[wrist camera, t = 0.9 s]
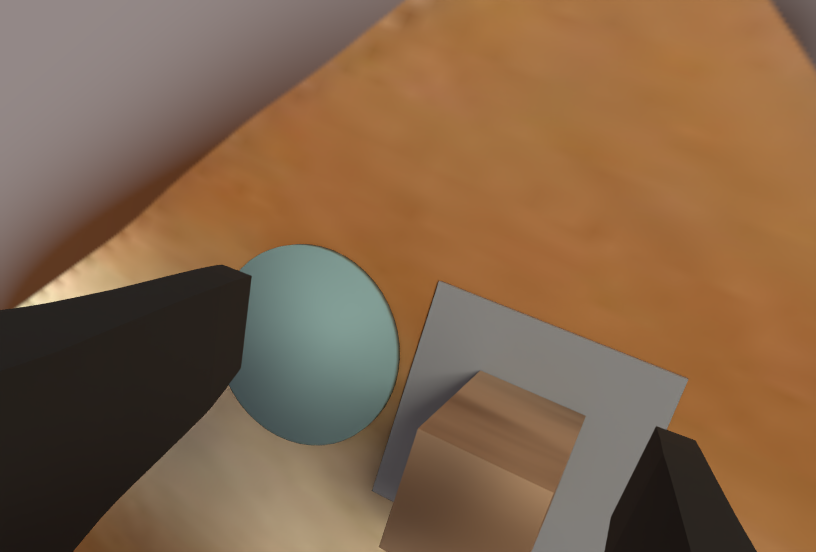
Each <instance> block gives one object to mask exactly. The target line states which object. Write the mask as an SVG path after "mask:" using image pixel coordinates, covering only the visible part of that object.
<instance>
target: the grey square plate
mask: <svg viewBox="0 0 816 552" xmlns="http://www.w3.org/2000/svg"><path fill="white" fill-rule="evenodd" d="M480 370H481V371H483V372H485V373H488V374H490V375H492V376H495V377H497V378H499V379H501V380H504V381H506V382H508V383H511V384H513V385H515V386H518V387H520V388H522V389H525V390H527V391H529V392H532V393H534V394H536V395H539V396H541V397H543V398H546V399H548V400H550V401H552V402H555V403H557V404H559V405H562V406H564V407H566V408H569V409H571V410H573V411H576V412H578V413H580V414H583V415H585V416H586V417H585V420H584V422H583V425H582V427H581V430H580V432H579V435H578V437H577V440H576V442H575V445H574V447H573V450H572V453H571V455H570V458H569V460H568V463H567V465H566V468H565V470H564V473H563V475H562V478H561V480H560V483H559V485H558V488H557V490H556V493H555V495H554V498H553V500H552V503H551V505H550V508H549V510H548V513H547V515H546V518H545V520H544V523H543V525H542V527H541V530H540V532H539V535H538V537H537V540H536V542H535V544H534V547H533V549H532V552H605V546H606V540H607V535H608V530H609V524H610V519H611V516H612V514H613V512H614V510H615V508H616V506H617V504H618V502H619V500H620V498H621V496H622V494H623V492H624V490H625V488H626V486H627V484H628V482H629V480H630V478H631V476H632V474H633V471H634V469H635V467H636V465H637V463H638V461H639V459H640V457H641V455H642V453H643V451H644V449H645V447H646V445H647V443H648V441H649V439H650V437H651V435H652V433H653V431H654V429H655V427H656V426H658V427H660V428H663V429H666V430H667V427H668V425H669V423H670V421H671V418H672V416H673V414H674V411H675V409H676V407H677V404H678V402H679V400H680V397H681V395H682V393H683V390H684V388H685V386H686V384H687V381H688V378H686V377H683V376H681V375H678V374H676V373H673V372H671V371H668V370H666V369H663V368H661V367H658V366H656V365H653V364H650V363H648V362H645V361H643V360H640V359H638V358H635V357H633V356H630V355H628V354H625V353H623V352H620V351H618V350H615V349H612V348H610V347H607V346H605V345H602V344H600V343H597V342H595V341H592V340H590V339H587V338H585V337H582V336H580V335H577V334H574V333H572V332H569V331H567V330H564V329H562V328H559V327H557V326H554V325H552V324H549V323H547V322H544V321H542V320H539V319H536V318H534V317H531V316H529V315H526V314H524V313H521V312H519V311H516V310H514V309H511V308H509V307H506V306H504V305H501V304H498V303H496V302H493V301H491V300H488V299H486V298H483V297H481V296H478V295H476V294H473V293H471V292H468V291H466V290H463V289H460V288H458V287H455V286H453V285H450V284H448V283H445V282H443V281H439V283H438V286H437V289H436V292H435V295H434V298H433V302H432V305H431V308H430V311H429V314H428V317H427V320H426V323H425V327H424V330H423V333H422V336H421V339H420V342H419V345H418V349H417V352H416V355H415V358H414V361H413V364H412V367H411V370H410V374H409V377H408V380H407V383H406V386H405V389H404V392H403V395H402V399H401V402H400V405H399V408H398V411H397V414H396V417H395V421H394V424H393V427H392V430H391V433H390V436H389V439H388V442H387V446H386V449H385V452H384V455H383V458H382V461H381V464H380V467H379V471H378V474H377V477H376V480H375V483H374V486H373V489H372V491H373V492H375V493H377V494H379V495H381V496H383V497H385V498H387V499H389V500H391V501H393V502H394V500H395V497H396V494H397V491H398V488H399V485H400V482H401V479H402V475H403V472H404V469H405V466H406V463H407V460H408V457H409V454H410V451H411V448H412V445H413V442H414V439H415V436H416V433H417V430H418V428H419V427H420V426H421V425H422V424H423V423H424V422H426V421H427V420H428V419H429V418H430V417H431V416H432V415H433V414H434V413H435V412H436V411H437V410H438V409H440V408H441V407H442V406H443V405H444V404H445V403H446V402H447V401H448V400H449V399H450V398H451V397H452V396H454V395H455V394H456V393H457V392H458V391H459V390H460V389H461V388H462V387H463V386H464V385H465V384H466V383H468V382H469V381H470V380H471V379H472V378H473V377H474V376H475V375H476V374H477V373H478V372H479V371H480Z"/></svg>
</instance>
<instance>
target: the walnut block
mask: <svg viewBox="0 0 816 552" xmlns="http://www.w3.org/2000/svg"><path fill="white" fill-rule="evenodd" d="M585 417H586V416H585V415H583V414H580V413H578V412H576V411H573V410H571V409H569V408H566V407H564V406H562V405H559V404H557V403H555V402H552V401H550V400H548V399H546V398H543V397H541V396H539V395H536V394H534V393H532V392H529V391H527V390H525V389H522V388H520V387H518V386H515V385H513V384H511V383H508V382H506V381H504V380H501V379H499V378H497V377H495V376H492V375H490V374H488V373H485V372H483V371H481V370H480V371H479V372H478V373H477V374H476V375H475V376H474V377H473V378H472V379H471V380H470V381H469V382H468V383H466V384H465V385H464V386H463V387H462V388H461V389H460V390H459V391H458V392H457V393H456V394H455V395H454V396H452V397H451V398H450V399H449V400H448V401H447V402H446V403H445V404H444V405H443V406H442V407H441V408H440V409H438V410H437V411H436V412H435V413H434V414H433V415H432V416H431V417H430V418H429V419H428V420H427V421H426V422H424V423H423V424H422V425H421V426H420V427H419V428H418V430H417V433H416V436H415V439H414V442H413V445H412V448H411V451H410V454H409V457H408V460H407V463H406V466H405V469H404V472H403V475H402V479H401V482H400V485H399V488H398V491H397V494H396V497H395V500H394V503H393V506H392V509H391V512H390V515H389V518H388V521H387V524H386V527H385V530H384V533H383V536H382V539H381V542H380V545H379V547H380V548H381V549H383V550H385V551H387V552H532V549H533V547H534V544H535V542H536V540H537V537H538V535H539V532H540V530H541V527H542V525H543V523H544V520H545V518H546V515H547V513H548V510H549V508H550V505H551V503H552V500H553V498H554V495H555V493H556V490H557V488H558V485H559V483H560V480H561V478H562V475H563V473H564V470H565V468H566V465H567V463H568V460H569V458H570V455H571V453H572V450H573V447H574V445H575V442H576V440H577V437H578V435H579V432H580V430H581V427H582V425H583V422H584V420H585Z"/></svg>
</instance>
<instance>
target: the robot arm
mask: <svg viewBox="0 0 816 552" xmlns="http://www.w3.org/2000/svg"><path fill="white" fill-rule="evenodd" d="M251 279H252V276H251V275H249V274H246V273H243V272H240V271H238V270H235V269H232V268H230V267H227V266H224V265H216V266H210V267H205V268H200V269H195V270H191V271H187V272H183V273H179V274H175V275H170V276H166V277H162V278H158V279H154V280H150V281H146V282H142V283H138V284H134V285H130V286H126V287H122V288H118V289H113V290H109V291H104V292H99V293H95V294H90V295H85V296H80V297H75V298H70V299H66V300H61V301H56V302H51V303H45V304H40V305H33V306H27V307H21V308H14V309H6V310H0V552H73V551H74V550H75V548H76V547H77V546H78V545H79V544H80V542H81V541H82V540H83V539H84V538H85V536H86V535H87V534H88V533H89V532H90V530H91V529H92V528H93V527H94V526H95V524H96V523H97V522H98V521H99V520H100V518H101V517H102V516H103V515H104V514H105V513H106V512H107V511H108V510H109V509H110V508H111V507H112V506H113V504H114V503H115V502H116V501H117V500H118V499H119V498H120V497H121V496H122V495H123V494H124V493H125V492H126V491H127V490H128V489H129V488H130V487H131V486H132V485H133V484H134V483H135V482H136V481H137V480H138V479H139V478H140V477H141V476H143V475H144V474H145V473H146V472H147V471H148V470H149V469H150V468H151V467H152V466H153V465H154V464H155V463H156V462H157V461H158V460H159V459H160V458H161V457H162V456H163V455H164V454H165V453H166V452H167V451H168V450H169V449H170V448H171V447H172V446H173V445H174V444H175V443H176V442H177V441H178V440H180V439H181V438H182V437H183V436H184V435H185V434H186V433H187V432H188V431H189V430H190V429H191V428H192V427H193V426H194V425H195V424H196V423H197V422H198V421H199V420H200V419H201V418H202V417H203V416H204V415H205V414H206V413H207V411H208V410H209V409H210V408H211V407H212V406H213V404H214V403H215V402H216V401H217V399H218V398H219V397H220V396H221V394H222V393H223V392H224V390H225V389H226V388H227V386H228V385H229V384H230V382H231V381H232V380H233V378H234V377H235V376H236V374H237V373H238V372H239V370H240V369H241V364H242V355H243V347H244V338H245V330H246V321H247V313H248V304H249V296H250V287H251ZM605 552H757V551H756V550H755V548H754V546H753V545H752V543H751V541H750V539H749V538H748V536H747V534H746V533H745V531H744V529H743V527H742V526H741V524H740V522H739V520H738V518H737V517H736V515H735V513H734V511H733V509H732V508H731V506H730V504H729V502H728V500H727V498H726V497H725V495H724V493H723V491H722V489H721V487H720V485H719V484H718V482H717V480H716V478H715V476H714V474H713V472H712V470H711V468H710V467H709V465H708V463H707V461H706V459H705V457H704V455H703V453H702V451H701V450H700V448H699V446H698V444H697V443H696V441H695V440H693V439H690V438H687V437H685V436H682V435H679V434H676V433H674V432H671V431H668V430H666V429H663V428H660V427H658V426H656V427H655V429H654V431H653V433H652V435H651V437H650V439H649V441H648V443H647V445H646V447H645V449H644V451H643V453H642V455H641V457H640V459H639V461H638V463H637V465H636V467H635V469H634V471H633V474H632V476H631V478H630V480H629V482H628V484H627V486H626V488H625V490H624V492H623V494H622V496H621V498H620V500H619V502H618V504H617V506H616V508H615V510H614V512H613V514H612V516H611V519H610V524H609V530H608V535H607V540H606V546H605Z"/></svg>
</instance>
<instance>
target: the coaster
mask: <svg viewBox="0 0 816 552" xmlns="http://www.w3.org/2000/svg"><path fill="white" fill-rule="evenodd" d="M240 272H243V273H246V274H249V275H251V276H252V279H251V287H250V296H249V304H248V313H247V321H246V330H245V338H244V347H243V355H242V364H241V369H240V370H239V372H238V373H237V374H236V376H235V377H234V378H233V380H232V381H231V382H230V384H229V386H230V388H231V390H232V392H233V393H234V395H235V396H236V398H237V400H238V401H239V403H240V404H241V405H242V406H243V408H244V409H245V410H246V411H247V412H248V414H249V415H250V416H251V417H253V418H254V419H255V420H256V421H257V422H258V423H259V424H260V425H262V426H263V427H264V428H266V429H267V430H269V431H270V432H272V433H274V434H275V435H277V436H279V437H282V438H284V439H286V440H289V441H292V442H296V443H299V444H306V445H327V444H333V443H336V442H340V441H343V440H345V439H347V438H349V437H352V436H354V435H355V434H357V433H358V432H360V431H361V430H362V429H364V428H365V427H366V426H368V425H369V424H370V423H371V422H372V421H373V420H374V419H375V418H376V417H377V416H378V415H379V414H380V412H381V411H382V410H383V408H384V407H385V405H386V404H387V402H388V400H389V398H390V397H391V394H392V392H393V389H394V386H395V383H396V379H397V375H398V370H399V361H400V345H399V338H398V331H397V327H396V324H395V320H394V317H393V314H392V312H391V309H390V307H389V304H388V302H387V301H386V299H385V297H384V295H383V293H382V292H381V290H380V289H379V287H378V286H377V285H376V283H375V282H374V281H373V280H372V278H371V277H370V276H369V275H368V274H367V273H366V272H365V271H364V270H363V269H362V268H361V267H359V266H358V265H357V264H356V263H355V262H353V261H352V260H350V259H349V258H347V257H346V256H344V255H342V254H340V253H338V252H336V251H334V250H331V249H328V248H325V247H321V246H316V245H310V244H295V245H288V246H281V247H277V248H274V249H270V250H268V251H266V252H264V253H261V254H259V255H258V256H256V257H255V258H253V259H252V260H250V261H249V262H248V263H247V264H246V265H245V266H244V267H242V268H241V270H240Z"/></svg>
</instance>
